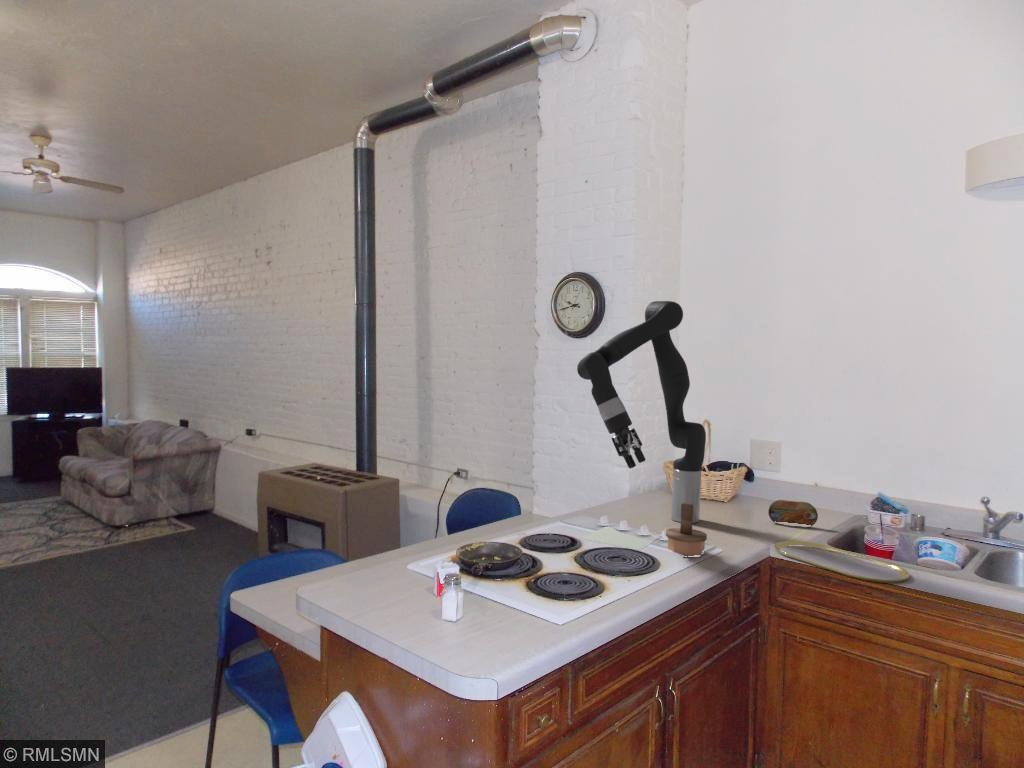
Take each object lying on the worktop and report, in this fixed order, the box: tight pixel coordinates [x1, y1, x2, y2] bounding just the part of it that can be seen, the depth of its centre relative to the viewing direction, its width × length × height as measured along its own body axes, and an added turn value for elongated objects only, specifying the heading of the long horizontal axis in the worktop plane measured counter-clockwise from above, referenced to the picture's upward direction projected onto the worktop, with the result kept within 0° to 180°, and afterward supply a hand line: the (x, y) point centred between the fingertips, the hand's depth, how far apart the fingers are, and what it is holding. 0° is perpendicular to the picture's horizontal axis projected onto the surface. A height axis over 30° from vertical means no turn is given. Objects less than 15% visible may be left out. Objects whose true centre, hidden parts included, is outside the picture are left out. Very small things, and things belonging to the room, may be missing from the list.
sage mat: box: [580, 526, 660, 551], centre depth 187 cm, size 18×18×1 cm
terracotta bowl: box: [667, 537, 706, 557], centre depth 177 cm, size 9×9×4 cm
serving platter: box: [773, 540, 911, 584], centre depth 173 cm, size 19×35×2 cm, turn 31°
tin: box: [767, 499, 819, 527], centre depth 213 cm, size 15×3×8 cm, turn 68°
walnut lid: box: [665, 503, 708, 542], centre depth 177 cm, size 11×11×9 cm
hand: (637, 464), depth 190 cm, fingers open, 8 cm apart
